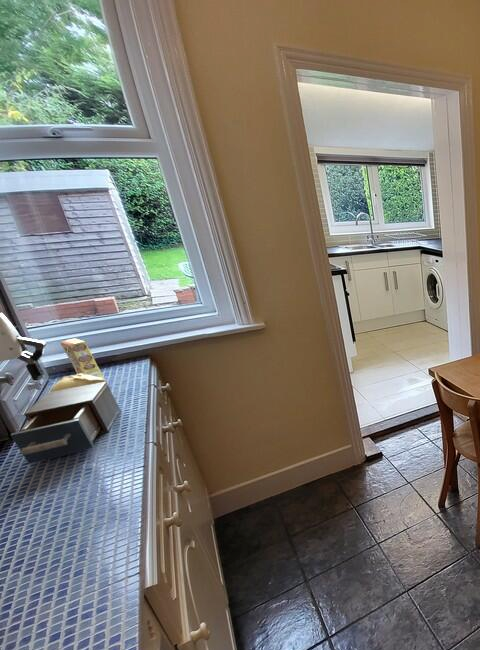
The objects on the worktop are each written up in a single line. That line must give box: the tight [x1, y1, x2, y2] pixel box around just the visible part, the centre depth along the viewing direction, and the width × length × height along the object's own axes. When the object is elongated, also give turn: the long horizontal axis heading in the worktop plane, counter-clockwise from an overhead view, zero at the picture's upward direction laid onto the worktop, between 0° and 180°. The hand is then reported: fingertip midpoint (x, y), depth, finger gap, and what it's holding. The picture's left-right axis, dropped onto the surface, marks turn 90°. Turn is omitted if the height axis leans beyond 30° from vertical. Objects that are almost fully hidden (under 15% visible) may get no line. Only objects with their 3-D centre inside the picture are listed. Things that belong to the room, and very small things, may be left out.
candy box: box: [60, 338, 106, 381], centre depth 139 cm, size 9×4×15 cm, turn 61°
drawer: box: [10, 403, 102, 464], centre depth 100 cm, size 18×11×8 cm, turn 32°
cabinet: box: [23, 381, 121, 435], centre depth 111 cm, size 15×13×10 cm
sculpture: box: [50, 373, 107, 392], centre depth 122 cm, size 11×12×11 cm
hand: (9, 383), depth 94 cm, fingers open, 9 cm apart
